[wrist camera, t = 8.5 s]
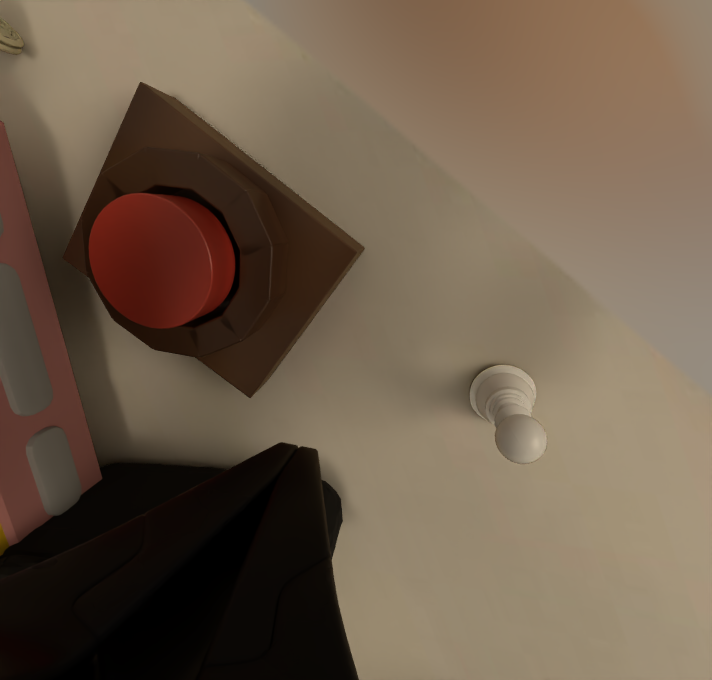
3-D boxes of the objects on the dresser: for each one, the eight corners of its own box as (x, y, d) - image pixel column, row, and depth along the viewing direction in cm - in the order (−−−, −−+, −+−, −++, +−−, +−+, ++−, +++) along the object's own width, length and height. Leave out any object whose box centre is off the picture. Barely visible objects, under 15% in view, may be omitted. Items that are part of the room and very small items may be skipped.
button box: (100, 253, 19) (21, 262, 15) (174, 97, 17) (102, 62, 13) (268, 379, 20) (231, 418, 16) (365, 248, 17) (349, 256, 13)
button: (106, 269, 15) (68, 275, 14) (156, 168, 14) (120, 162, 12) (200, 339, 16) (173, 354, 14) (258, 247, 14) (236, 251, 13)
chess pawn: (492, 431, 19) (516, 504, 14) (456, 386, 18) (468, 444, 14) (547, 399, 18) (592, 465, 13) (510, 351, 18) (543, 400, 13)
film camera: (115, 590, 25) (-49, 777, 16) (88, 447, 22) (-122, 579, 14) (358, 625, 22) (317, 867, 14) (357, 470, 20) (306, 646, 11)
